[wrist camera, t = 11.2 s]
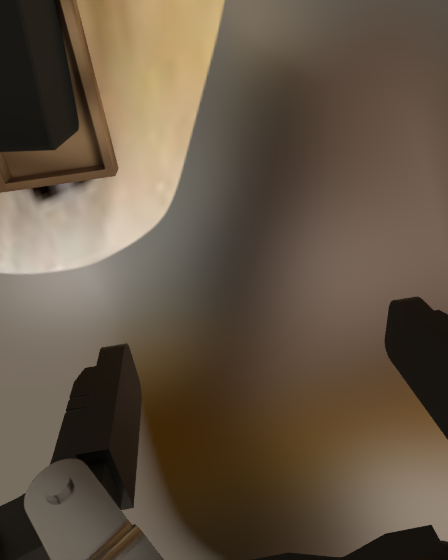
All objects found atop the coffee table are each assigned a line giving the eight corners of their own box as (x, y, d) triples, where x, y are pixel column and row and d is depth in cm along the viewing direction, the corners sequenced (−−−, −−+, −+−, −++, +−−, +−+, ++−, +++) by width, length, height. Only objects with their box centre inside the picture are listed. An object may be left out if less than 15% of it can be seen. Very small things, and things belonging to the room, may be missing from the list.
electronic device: (33, 130, 35) (-12, 155, 26) (-1, -9, 30) (-70, -33, 21) (81, 128, 35) (53, 153, 27) (55, -8, 30) (10, -32, 22)
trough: (-76, -31, 29) (-97, -38, 27) (64, -47, 30) (55, -55, 27) (10, 184, 37) (0, 192, 35) (118, 168, 38) (115, 175, 36)
